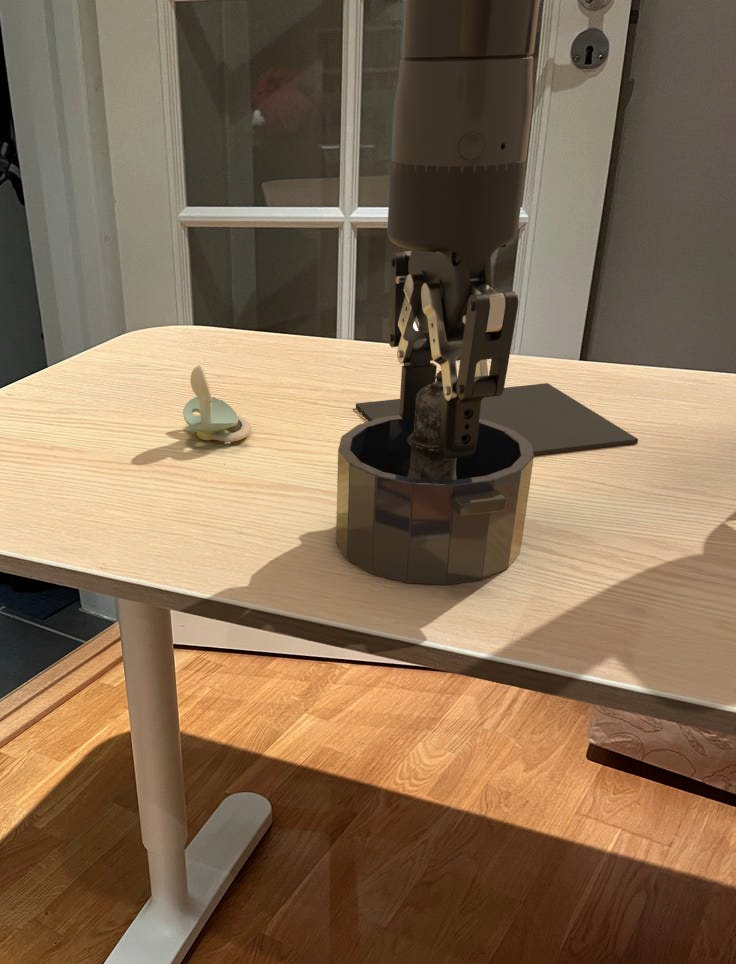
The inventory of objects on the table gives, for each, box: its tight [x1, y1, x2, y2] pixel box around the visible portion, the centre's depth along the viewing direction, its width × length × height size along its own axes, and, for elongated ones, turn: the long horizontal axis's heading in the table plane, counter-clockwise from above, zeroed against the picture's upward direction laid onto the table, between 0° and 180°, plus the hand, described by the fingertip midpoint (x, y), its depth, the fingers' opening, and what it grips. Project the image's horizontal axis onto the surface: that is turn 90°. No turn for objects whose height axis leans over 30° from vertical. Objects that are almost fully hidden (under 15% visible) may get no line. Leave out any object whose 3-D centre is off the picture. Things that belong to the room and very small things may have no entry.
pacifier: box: [182, 364, 252, 443], centre depth 83 cm, size 7×6×6 cm
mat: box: [355, 382, 639, 457], centre depth 85 cm, size 20×16×1 cm
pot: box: [335, 415, 535, 586], centre depth 64 cm, size 13×16×7 cm
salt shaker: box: [407, 370, 457, 480], centre depth 62 cm, size 6×6×12 cm
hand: (435, 435), depth 62 cm, fingers open, 6 cm apart
